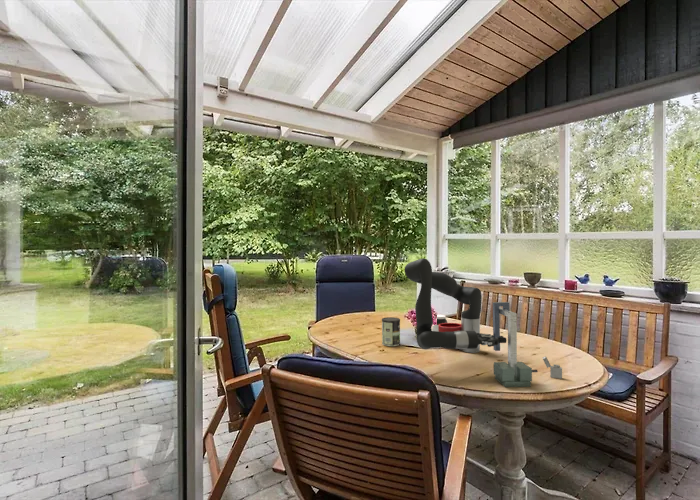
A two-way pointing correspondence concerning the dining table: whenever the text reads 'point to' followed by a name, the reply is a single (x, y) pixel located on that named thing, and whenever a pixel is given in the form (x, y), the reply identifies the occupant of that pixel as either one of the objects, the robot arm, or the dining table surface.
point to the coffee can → (390, 331)
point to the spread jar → (439, 321)
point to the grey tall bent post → (512, 359)
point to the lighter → (553, 369)
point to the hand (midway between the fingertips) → (504, 339)
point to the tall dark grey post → (498, 320)
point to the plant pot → (449, 327)
